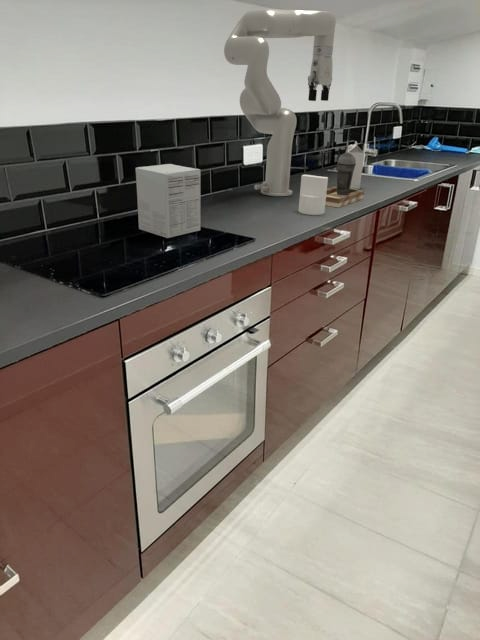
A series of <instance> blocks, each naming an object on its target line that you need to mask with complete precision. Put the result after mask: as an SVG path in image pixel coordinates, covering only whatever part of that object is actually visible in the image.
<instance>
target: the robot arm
mask: <svg viewBox="0 0 480 640" xmlns="http://www.w3.org/2000/svg"><path fill="white" fill-rule="evenodd" d="M336 23H337V22H336V16H335V15H334V13H332V12H331V11H328V10H302V9H277V8H275V9H274V8H265V9H263V8H262V9H254V10H252V9H251V10H249V11H246V13H244V15H242V17H241V18H240V19H239V21H238V22H237V23H236V25H235V27H234V28H233V29H232V32H231V33H230V34H229V36H228V37H227V40H226V41H225V44H224V50H223V54H224V58H225V60H226V61H227V62H228V63H229V64H231V65H235V66H247V68H246V72H245V77H244V81H243V83H244V87H245V88H244V89H243V90H242V91H241V92H240V95H239V106H240V110H241V111H242V113H243V114H244V116H245V117H246V119H247V120H248V122H249V124H250V125H252V127H253V128H254V129H255V131H257V132H258V133H261V134H264V135H265V134H266V135H267V134H268V135H272V136H271V138H270V139H269V141H268V144H267V147H266V162H265V163H266V165H265V180H263V182H262V183H261V184H255V185H254V186H253V187H254V190H256V191H257V190H260V193H261V194H262V195H266V196H270V197H290V196H292V195H293V190H291V189H289V188H290V177H291V163H292V162H291V161H292V149H293V142H294V141H293V140H294V136H295V135H294V134H295V131H296V128H297V121H298V120H297V119H298V118H297V116H296V114H295V112H294V111H293V110H291V109H290V108H285V107H282V100H281V96H280V95H279V93H278V91H277V89H276V88H275V87H274V85H273V84H272V82H271V80H270V77H269V76H268V73H267V71H268V64H269V63H268V61H269V56H270V47H269V43H268V41H267V40H266V39H291V38H294V39H295V38H302V37H303V38H304V37H313V46H312V47H313V49H312V60H311V66H310V73H309V75H308V77H307V85H308V90H309V91H308V101H309V102H316V101H317V92H318V90H317V88H318V85H321V93H320V101H322V102H323V101H324V102H325V101H326V102H328V101H329V96H330V95H329V94H330V90H331V86H332V81H333V51H334V39H335V30H336Z"/></svg>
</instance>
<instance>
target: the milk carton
mask: <svg viewBox="0 0 480 640" xmlns="http://www.w3.org/2000/svg"><path fill="white" fill-rule="evenodd" d="M348 153H351V154H352V155H353V156H354V157H355V160H356V165H355V169H354V171H353V176H352V181H351V186H350V188H351V189H358V190H360V188H361V180H362V174H363V166H364V161H365V160H364V159H365V152H364V151H363V150H362V149H361V148H360V147H359V146H358V142H357V141H354V144H350V145H348Z"/></svg>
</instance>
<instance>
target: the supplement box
mask: <svg viewBox="0 0 480 640" xmlns="http://www.w3.org/2000/svg"><path fill="white" fill-rule="evenodd" d="M135 179H136V180H135V183H136V196H137V197H136V198H137V214H138V216H137V217H138V230H141V231H144V232H147V233H151V234H154V235H156V236H160V237H164V238H165V239H169V238H174V237H177V236H181V235H186V234H190V233H194V232H199V231H201V169H199V168H193V167H189V166H188V167H187V166H182V165H176V164H173V163H165V164H157V165H149V166H138V167H135Z"/></svg>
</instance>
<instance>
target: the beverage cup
mask: <svg viewBox="0 0 480 640" xmlns="http://www.w3.org/2000/svg"><path fill="white" fill-rule="evenodd" d="M348 146H349V139H348V140H346V150H345V152H344V153H342V154H340V155H339V157H338V159H337V161H336V162H337V163H336V167H337V168H336V169H337V176H336V177H337V178H336V187H337V194H338V195H348V194H349V190H350V186H351V181H352V176H353V171H354V169H355V165H356V160H355V157H354V156H353V155H352V154H351V153H348Z"/></svg>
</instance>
